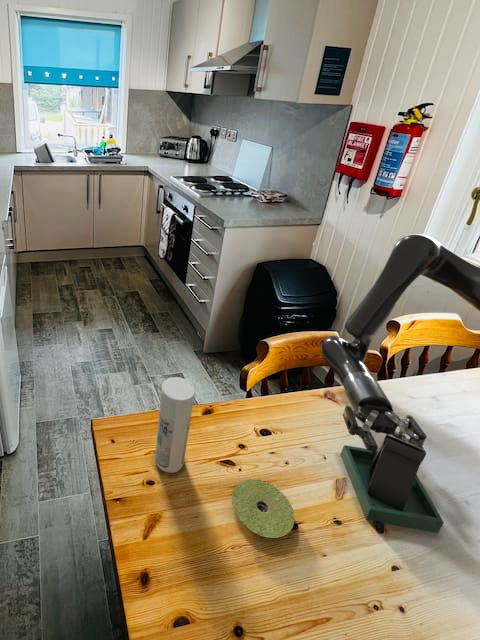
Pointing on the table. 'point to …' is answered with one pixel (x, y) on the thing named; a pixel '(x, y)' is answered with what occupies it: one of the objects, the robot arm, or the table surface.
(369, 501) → the tray
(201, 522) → the table surface
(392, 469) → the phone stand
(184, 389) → the spray can
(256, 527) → the green abrasive disc
